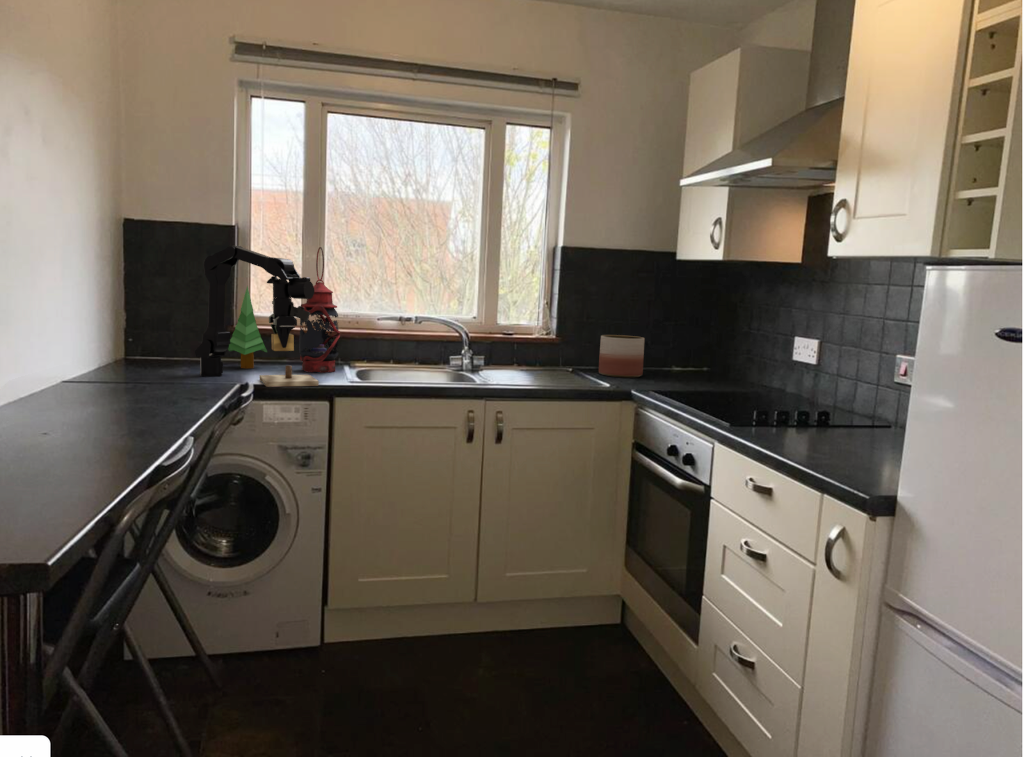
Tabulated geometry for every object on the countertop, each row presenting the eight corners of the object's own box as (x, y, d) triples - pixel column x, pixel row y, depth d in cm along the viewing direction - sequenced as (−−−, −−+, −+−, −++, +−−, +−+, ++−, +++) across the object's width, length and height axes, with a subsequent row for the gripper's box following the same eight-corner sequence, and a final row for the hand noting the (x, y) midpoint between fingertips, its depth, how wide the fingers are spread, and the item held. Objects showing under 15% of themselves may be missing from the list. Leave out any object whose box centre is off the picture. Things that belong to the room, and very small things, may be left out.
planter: (642, 374, 319) (645, 336, 317) (642, 379, 301) (644, 339, 299) (599, 371, 322) (601, 334, 320) (596, 376, 304) (599, 336, 302)
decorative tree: (218, 366, 282) (218, 284, 278) (259, 364, 292) (259, 285, 289) (234, 370, 272) (234, 285, 268) (275, 368, 283) (276, 286, 279)
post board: (266, 386, 239) (266, 369, 238) (259, 379, 253) (259, 363, 252) (318, 385, 245) (318, 368, 245) (308, 379, 260) (309, 362, 259)
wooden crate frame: (274, 350, 243) (274, 335, 243) (271, 349, 249) (271, 333, 248) (293, 350, 246) (293, 335, 245) (290, 349, 251) (290, 333, 251)
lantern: (295, 368, 287) (296, 246, 281) (334, 368, 293) (336, 248, 287) (302, 373, 273) (304, 245, 267) (343, 373, 279) (345, 247, 273)
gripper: (313, 299, 240) (313, 349, 242) (302, 298, 257) (303, 344, 259) (276, 298, 236) (277, 349, 238) (268, 297, 252) (268, 344, 254)
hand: (282, 346), depth 247 cm, fingers closed on wooden crate frame, 6 cm apart
